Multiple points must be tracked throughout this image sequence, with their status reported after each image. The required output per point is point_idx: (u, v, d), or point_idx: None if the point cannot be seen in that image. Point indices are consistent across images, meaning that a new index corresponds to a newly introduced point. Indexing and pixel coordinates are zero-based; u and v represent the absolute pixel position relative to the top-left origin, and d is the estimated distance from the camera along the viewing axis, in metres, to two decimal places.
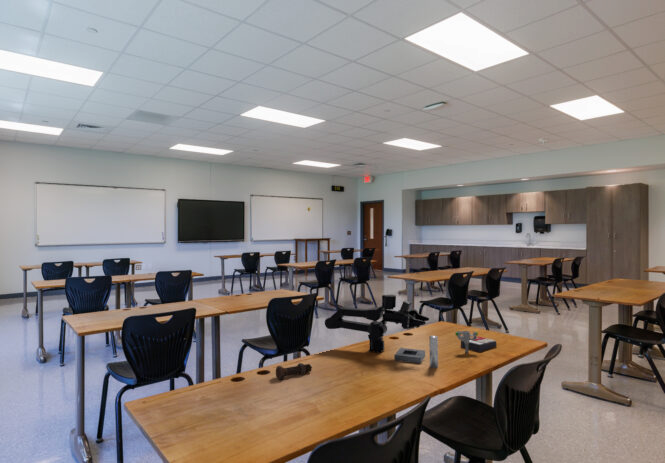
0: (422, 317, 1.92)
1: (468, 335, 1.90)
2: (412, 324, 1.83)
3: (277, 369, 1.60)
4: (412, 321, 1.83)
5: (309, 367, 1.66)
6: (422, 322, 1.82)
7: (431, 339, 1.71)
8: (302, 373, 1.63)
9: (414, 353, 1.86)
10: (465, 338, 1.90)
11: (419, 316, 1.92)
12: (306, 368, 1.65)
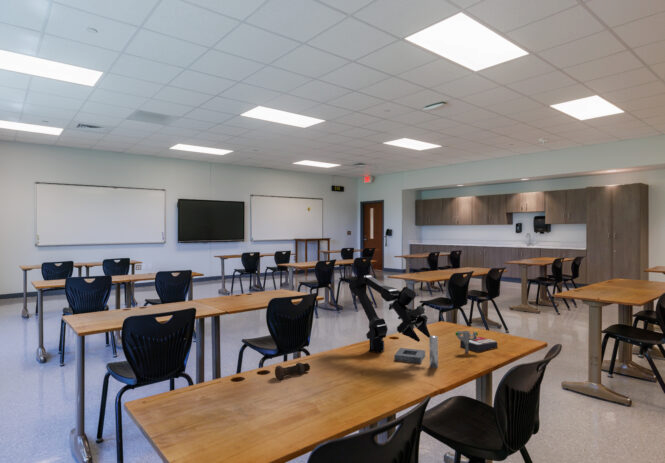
0: (425, 330, 1.80)
1: (468, 335, 1.90)
2: (407, 333, 1.74)
3: (276, 369, 1.60)
4: (409, 330, 1.73)
5: (307, 366, 1.67)
6: (417, 339, 1.72)
7: (431, 339, 1.71)
8: (301, 372, 1.64)
9: (414, 353, 1.86)
10: (465, 338, 1.90)
11: (424, 327, 1.81)
12: (305, 367, 1.66)
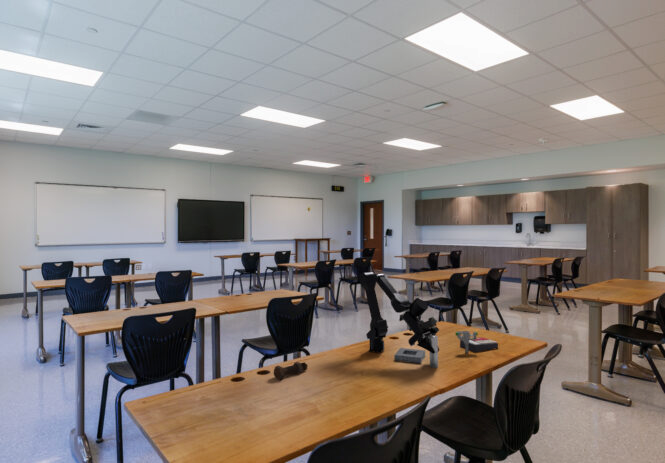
0: None
1: (468, 335, 1.90)
2: (422, 344, 1.72)
3: (276, 369, 1.60)
4: (424, 342, 1.72)
5: (305, 365, 1.68)
6: (432, 351, 1.70)
7: (431, 339, 1.71)
8: (299, 372, 1.65)
9: (414, 353, 1.86)
10: (465, 338, 1.90)
11: None
12: (303, 366, 1.67)
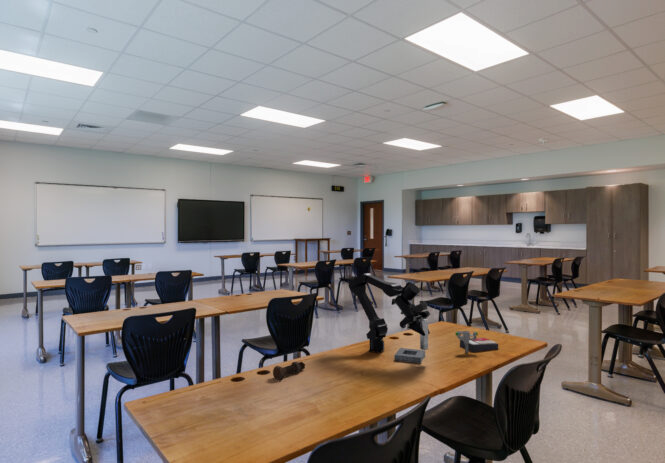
0: None
1: (468, 335, 1.90)
2: (413, 327, 1.76)
3: (275, 369, 1.60)
4: (415, 325, 1.76)
5: (303, 365, 1.69)
6: (422, 333, 1.74)
7: (422, 322, 1.75)
8: (298, 371, 1.66)
9: (414, 353, 1.86)
10: (465, 338, 1.90)
11: None
12: (301, 366, 1.68)
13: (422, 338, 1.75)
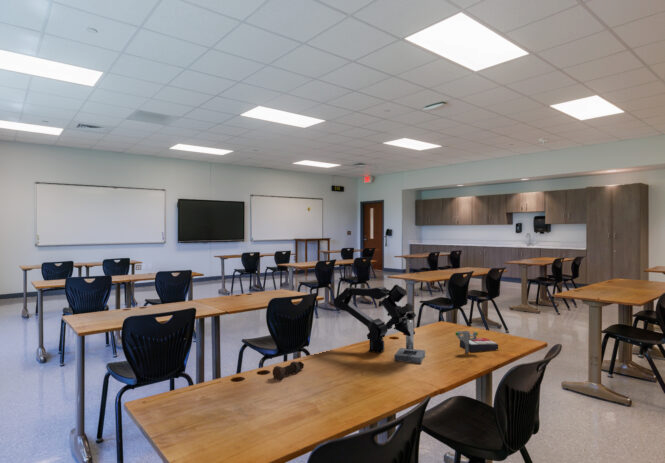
0: None
1: (468, 335, 1.90)
2: (399, 328, 1.84)
3: (275, 369, 1.60)
4: (401, 326, 1.84)
5: (302, 364, 1.69)
6: (408, 334, 1.82)
7: (407, 323, 1.83)
8: (297, 371, 1.66)
9: (414, 353, 1.86)
10: (465, 338, 1.90)
11: None
12: (299, 366, 1.68)
13: (408, 338, 1.83)
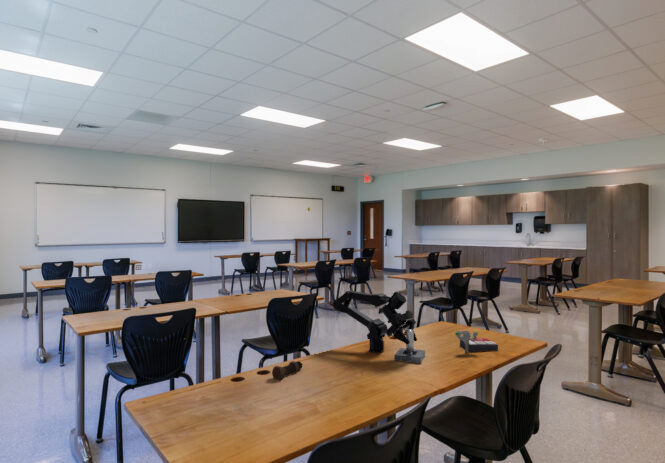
0: None
1: (468, 335, 1.90)
2: (397, 336, 1.83)
3: (275, 369, 1.60)
4: (399, 333, 1.82)
5: (300, 364, 1.70)
6: (406, 342, 1.81)
7: (407, 332, 1.83)
8: (296, 370, 1.66)
9: (414, 353, 1.86)
10: (465, 338, 1.90)
11: None
12: (298, 365, 1.68)
13: (408, 348, 1.83)
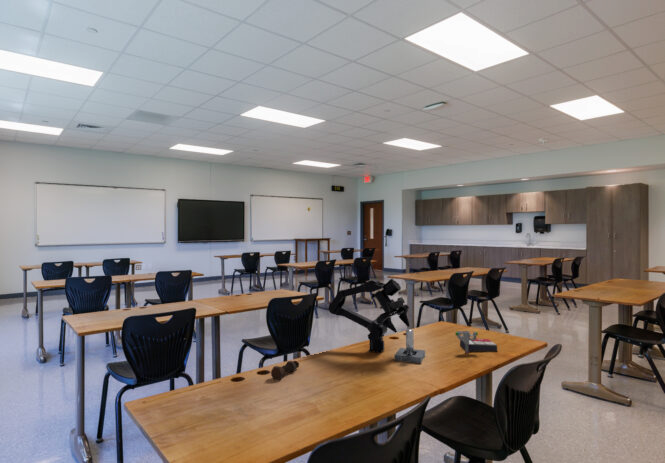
0: (405, 320, 1.91)
1: (468, 335, 1.90)
2: (386, 323, 1.87)
3: (274, 370, 1.59)
4: (388, 322, 1.86)
5: (297, 363, 1.71)
6: (394, 330, 1.85)
7: (407, 332, 1.83)
8: (293, 370, 1.67)
9: (414, 353, 1.86)
10: (465, 338, 1.90)
11: (404, 317, 1.92)
12: (295, 365, 1.69)
13: (408, 348, 1.83)
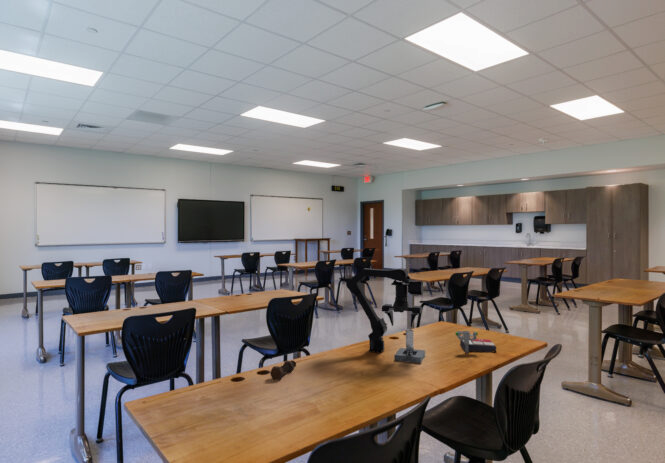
0: None
1: (468, 335, 1.90)
2: None
3: (274, 370, 1.59)
4: None
5: (294, 363, 1.71)
6: None
7: (407, 332, 1.83)
8: (291, 369, 1.68)
9: (414, 353, 1.86)
10: (465, 338, 1.90)
11: None
12: None
13: (408, 348, 1.83)
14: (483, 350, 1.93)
